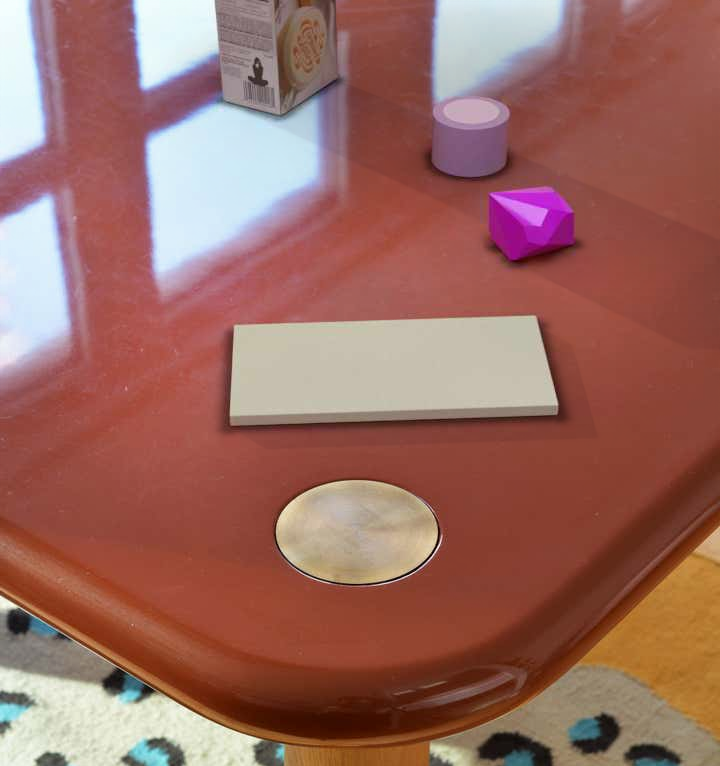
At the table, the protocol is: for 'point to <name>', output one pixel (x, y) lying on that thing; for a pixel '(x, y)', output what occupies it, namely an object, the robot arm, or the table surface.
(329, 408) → the board
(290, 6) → the cookie box
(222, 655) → the table surface
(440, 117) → the lavender cylindrical tub
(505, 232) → the crystal
